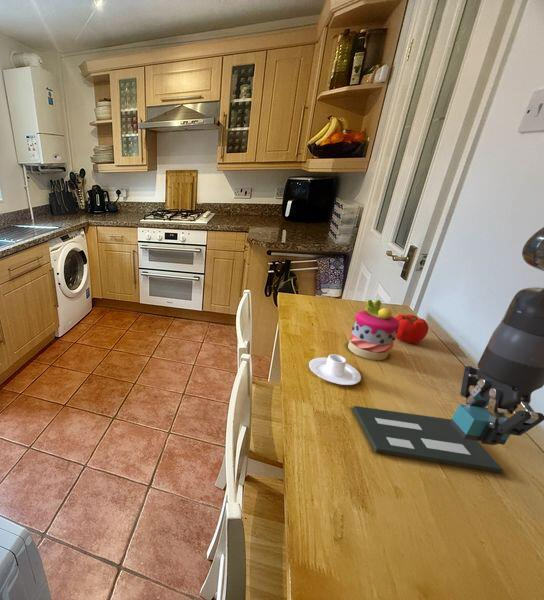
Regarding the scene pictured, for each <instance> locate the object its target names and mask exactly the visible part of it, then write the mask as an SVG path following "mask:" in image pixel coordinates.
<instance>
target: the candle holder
mask: <svg viewBox="0 0 544 600" xmlns="http://www.w3.org/2000/svg"><path fill="white" fill-rule="evenodd" d="M347 361H348V360H347V359H346V358H345V357H344V356H342V355H340V354H336V353H335V354H329V355H328V356H327V357H315V358H313V359H311V360H310V361H309V363H308V366H309V369H310V370H311V372H312V373H313V374H315V376H318V377H319V378H320V379H322V380H325V381H327V382H330V383H333V384H337V385H341V386H353V385H356V384H359V383H360V382H361V380H362V376H361V373H360V372H359V370H357V369H356V368H355V367H354V366H352V365H351V364H349V363H347Z"/></svg>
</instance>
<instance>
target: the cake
mask: <svg viewBox="0 0 544 600" xmlns="http://www.w3.org/2000/svg"><path fill="white" fill-rule="evenodd" d="M365 305H366V307H365V310H361V311H358V312H357V313H356V314H355V318H354V325H353V326H352V328H351V333H349V334H348V335H349V336H350V338H349V342H348V344H347V347H348V350H349V351H350V352H352V353H353V354H355V355H357V356H359V357H362V358H365V359H368V360H372V361H373V360H374V361H383V360H385V359H387V358H388V355H389V353H390V352H391V350H392V349H393V348H394V347H395V343H394V341H396V337H394V336H395V333H396V334H397V331H398V328H399V325H400V323H399V321H398V320H397V319H396V317H394V316H393V314H392V310H391V309H389V308H386V307H383V308H381V305H382V302H381V300H380V299H376V300H374V302H373V301H372V300H371V299H367V300H366V301H365Z"/></svg>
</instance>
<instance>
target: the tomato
mask: <svg viewBox="0 0 544 600" xmlns="http://www.w3.org/2000/svg"><path fill="white" fill-rule="evenodd" d="M395 318H396V319H397V320H398V321H399V323H400V325H399V328H398V331H397V334H396V333H395V336H394V337H395V339H396V340H399V341H400V342H401V341H402V342H406V343H408V344H418V343H420V342H421V341H423V340H424V339H425V337H427V334H428V332H429V324H428V323H427V321H426V319H424V318H421V317H418V316H417V315H415V314H410V313H409V314H398V315H397V316H395Z"/></svg>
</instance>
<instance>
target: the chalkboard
mask: <svg viewBox="0 0 544 600" xmlns="http://www.w3.org/2000/svg"><path fill="white" fill-rule="evenodd" d="M352 410H353V412H354V415H355V416H356V418H357V420H358V422H359V424H360V426H361V428H362V429H363V432H364V433H365V435H366V437H367V439H368V441H369V443H370V445H371V448H373V450H374V453H377V454H384V455H390V456H395V457H396V456H397V457H402V458H409V459H414V460H420V461H426V462H431V463H437V464H443V465H449V466H456V467H462V468H467V469H473V470H480V471H487V472H492V473H498V474H501V473H502V472H503V470H504V469H503V468H502V467H501V465H500V464H499V463H498V462H497V461H496V460H495V459H494V458H493V457H492V455H491V454H490V453H489V452H488V451H487V449H485V447H484V446H483V445H482V444H481V443H480V441H476V440H469V439H464V438H463V437H462V436H461V435H460V434H459V432H458V431H457V430H456V429H455V428H454V427H453V426H452V424H451V423H450V421H451V419H452V418H451V419H450V418H443V417H436V416H428V415H421V414H415V413H407V412H400V411H394V410H393V411H392V410H386V409H380V408H374V407H373V408H372V407H365V406H357V405H353V407H352Z"/></svg>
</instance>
